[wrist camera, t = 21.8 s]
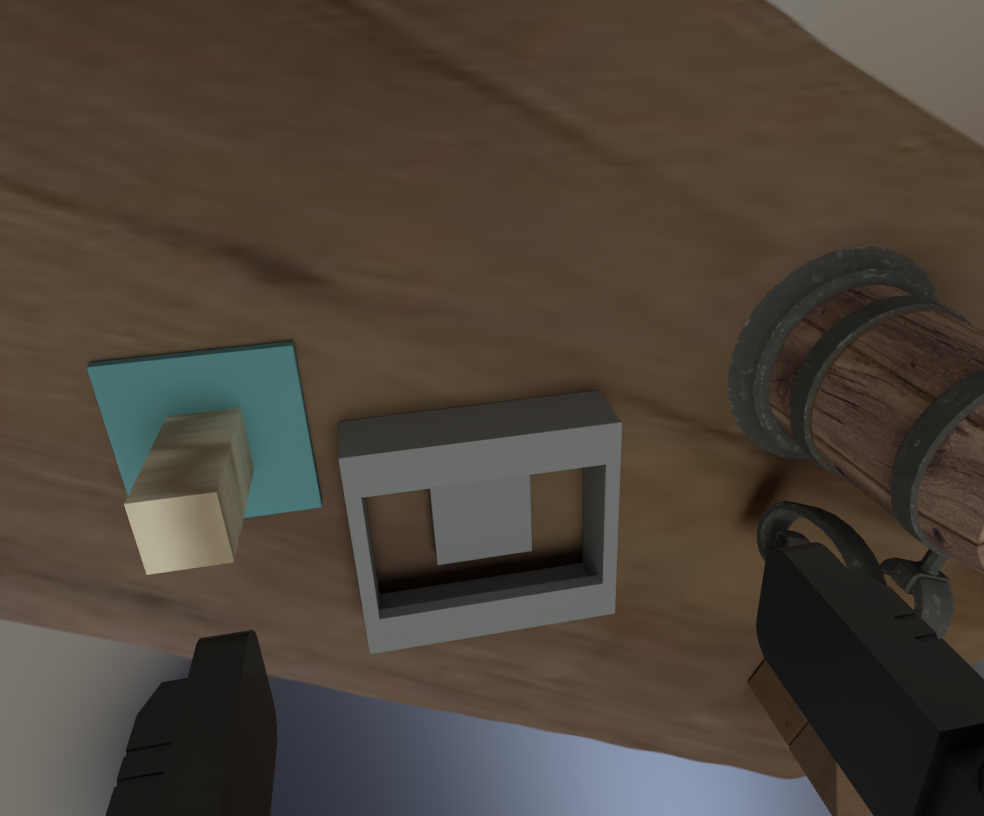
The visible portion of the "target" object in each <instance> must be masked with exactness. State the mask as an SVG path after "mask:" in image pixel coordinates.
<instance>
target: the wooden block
mask: <svg viewBox="0 0 984 816" xmlns="http://www.w3.org/2000/svg"><path fill="white" fill-rule="evenodd" d="M749 685H750V687H751V688H752V690H753V691H754V693H755V694H756V696H757V698H758V699H759V701H760V702H761V704H762V705H763V707H764V709H765V710H766V712H767V713H768V715H769V716H770V718H771V720H772V721H773V723H774V724H775V726H776V727H777V729H778V731H779V732H780V734H781V735H782V737H783V738H784V740H785V742H786V743H787V744H788V745H789V749H790V751H791V752H792V754H793V755H794V757H795V758H796V760H797V761H798V763H799V765H800V766H801V768H802V769H803V771H804V772H805V774H806V776H807V777H808V779H809V780H810V782H811V783H812V785H813V787H814V788H815V790H816V791H817V793H818V794H819V796H820V798H821V799H822V801H823V802H824V804H825V805H826V807H827V808H828V810H829V812H830V813H831V815H832V816H871V812H870V810H869V809H868V807H867V806H866V804H865V803H864V801H863V800H862V798H861V797H860V796H859V794H858V793H857V791H856V790H855V788H854V787H853V785H852V784H851V783H850V781H849V780H848V778H847V777H846V775H845V774H844V772H843V771H842V770H841V768H840V767H839V765H838V764H837V762H836V761H835V759H834V758H833V757H832V755H831V754H830V752H829V751H828V749H827V748H826V746H825V745H824V743H823V742H822V741H821V739H820V738H819V736H818V735H817V733H816V732H815V730H814V729H813V728H812V726H811V725H810V723H809V722H808V720H807V719H806V717H805V716H804V715H803V713H802V712H801V710H800V709H799V707H798V706H797V704H796V703H795V702H794V700H793V699H792V697H791V696H790V694H789V693H788V691H787V690H786V688H785V687H784V686H783V684H782V683H781V681H780V680H779V678H778V677H777V675H776V674H775V673H774V671H773V670H772V668H771V667H770V665H769V664H768V662H767V661H766V659H765V660H764V661H763V663H762V664H761V666H760V667H759V668H758V670H757V671H756V672H755V674H754V675H753V676H752V678H751V679H750V680H749Z"/></svg>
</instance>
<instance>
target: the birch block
mask: <svg viewBox="0 0 984 816" xmlns="http://www.w3.org/2000/svg"><path fill="white" fill-rule="evenodd" d="M253 472H254V465H253V460H252V456H251V451H250V447H249V442H248V438H247V433H246V429H245V424H244V420H243V415H242V411H241V408H233V409H225V410H216V411H208V412H199V413H190V414H182V415H173V416H167V417H166V419H165V421H164V423H163V425H162V427H161V429H160V431H159V433H158V435H157V437H156V439H155V441H154V443H153V445H152V447H151V449H150V452H149V454H148V456H147V458H146V460H145V462H144V464H143V466H142V468H141V470H140V472H139V474H138V476H137V478H136V480H135V482H134V484H133V487H132V489H131V491H130V493H129V495H128V497H127V499H126V501H125V503H124V506H125V509H126V512H127V515H128V518H129V521H130V524H131V527H132V530H133V534H134V537H135V540H136V543H137V546H138V549H139V552H140V555H141V558H142V561H143V564H144V567H145V571H146V574H147V575H149V574H155V573H162V572H169V571H176V570H183V569H190V568H197V567H204V566H211V565H218V564H225V563H231V562H234V561H235V556H236V551H237V547H238V542H239V538H240V533H241V528H242V524H243V519H244V514H245V510H246V505H247V500H248V496H249V491H250V486H251V482H252V477H253Z"/></svg>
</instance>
